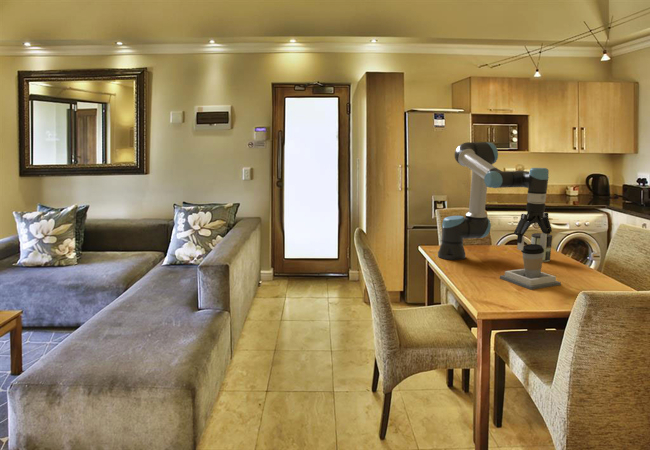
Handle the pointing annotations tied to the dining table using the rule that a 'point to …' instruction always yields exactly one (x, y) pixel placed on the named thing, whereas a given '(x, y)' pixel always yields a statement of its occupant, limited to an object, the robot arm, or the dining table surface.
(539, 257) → the coffee cup
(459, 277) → the dining table surface
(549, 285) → the cup dock
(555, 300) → the dining table surface
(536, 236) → the coffee can
